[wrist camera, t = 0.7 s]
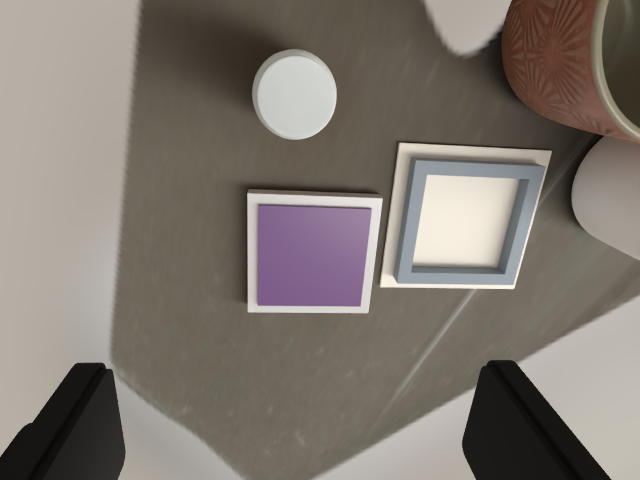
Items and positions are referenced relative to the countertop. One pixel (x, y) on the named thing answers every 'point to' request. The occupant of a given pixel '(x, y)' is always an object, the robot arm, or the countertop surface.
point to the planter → (577, 62)
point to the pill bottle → (294, 94)
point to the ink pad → (311, 250)
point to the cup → (610, 194)
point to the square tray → (460, 215)
